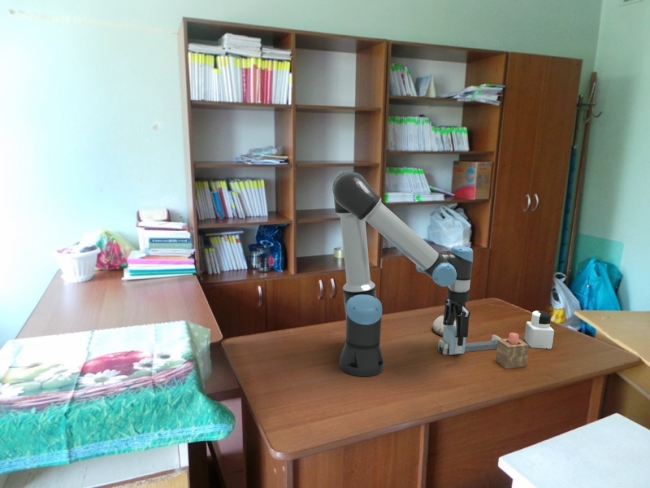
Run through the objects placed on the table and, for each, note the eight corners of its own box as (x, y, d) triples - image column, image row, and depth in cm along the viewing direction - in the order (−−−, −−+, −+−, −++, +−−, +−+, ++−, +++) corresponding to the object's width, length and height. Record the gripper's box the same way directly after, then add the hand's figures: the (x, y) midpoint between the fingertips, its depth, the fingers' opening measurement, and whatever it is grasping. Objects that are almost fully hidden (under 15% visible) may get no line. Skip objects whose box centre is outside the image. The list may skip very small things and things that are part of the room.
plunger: (510, 358, 154) (513, 336, 152) (505, 354, 157) (507, 332, 155) (518, 357, 154) (520, 335, 153) (512, 353, 157) (515, 332, 156)
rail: (443, 354, 162) (444, 344, 161) (438, 349, 165) (438, 339, 165) (501, 349, 168) (502, 339, 167) (494, 344, 171) (495, 334, 170)
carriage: (449, 354, 161) (451, 331, 159) (441, 348, 167) (443, 325, 165) (464, 353, 163) (466, 330, 161) (456, 346, 168) (458, 324, 166)
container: (544, 340, 176) (548, 309, 173) (551, 349, 169) (556, 316, 166) (523, 339, 177) (527, 308, 174) (530, 347, 169) (535, 315, 167)
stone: (452, 348, 178) (465, 334, 176) (432, 334, 177) (446, 320, 175) (446, 332, 190) (459, 319, 188) (428, 319, 189) (440, 306, 187)
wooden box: (506, 368, 152) (508, 346, 151) (495, 360, 158) (497, 339, 156) (526, 366, 154) (528, 345, 153) (514, 358, 160) (517, 337, 158)
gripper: (483, 296, 152) (476, 359, 157) (454, 281, 169) (449, 338, 174) (463, 298, 150) (457, 361, 155) (436, 282, 168) (431, 339, 172)
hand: (453, 349), depth 165 cm, fingers closed on carriage, 6 cm apart
